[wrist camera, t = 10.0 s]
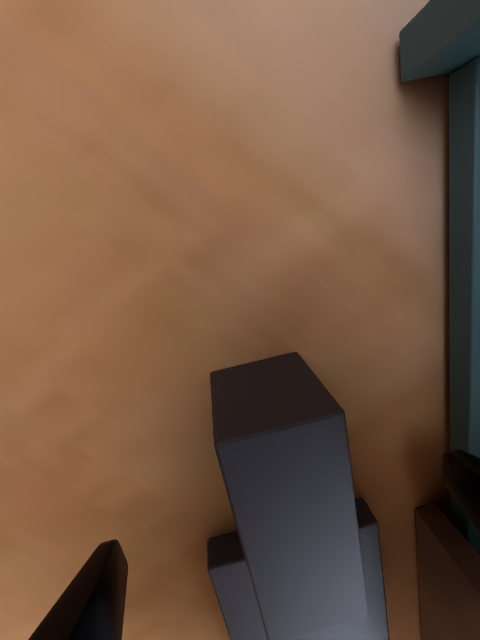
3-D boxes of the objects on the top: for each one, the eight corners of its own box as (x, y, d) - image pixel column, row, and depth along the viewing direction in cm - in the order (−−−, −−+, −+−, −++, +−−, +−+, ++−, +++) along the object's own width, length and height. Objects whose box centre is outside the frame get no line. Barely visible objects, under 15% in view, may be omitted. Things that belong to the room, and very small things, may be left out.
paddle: (345, 338, 9) (419, 392, 6) (375, 610, 12) (432, 733, 9) (157, 384, 9) (133, 464, 6) (241, 650, 12) (254, 790, 9)
